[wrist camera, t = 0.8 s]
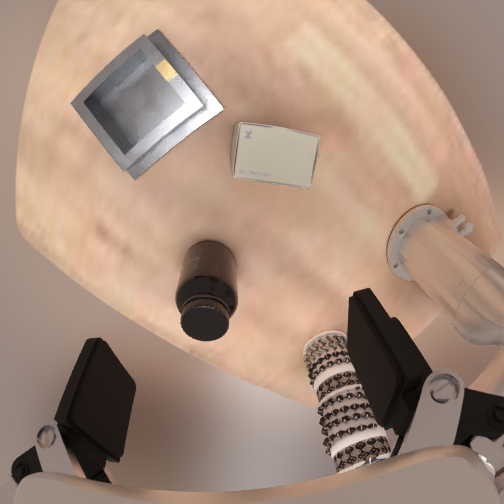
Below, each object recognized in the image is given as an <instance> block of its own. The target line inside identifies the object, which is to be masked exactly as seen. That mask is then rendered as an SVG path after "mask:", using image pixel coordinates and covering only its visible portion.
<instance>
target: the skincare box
mask: <svg viewBox="0 0 504 504" xmlns="http://www.w3.org/2000/svg"><path fill="white" fill-rule="evenodd" d="M320 142H321V137H320V136H319V135H316V134H312V133H308V132H303V131H299V130H294V129H289V128H284V127H278V126H272V125H266V124H258V123H250V122H235V125H234V131H233V137H232V144H231V152H230V162H231V171H232V176H233V178H238V179H244V180H250V181H256V182H263V183H271V184H278V185H286V186H293V187H300V188H310V186H311V183H312V178H313V174H314V170H315V166H316V161H317V157H318V152H319V147H320Z"/></svg>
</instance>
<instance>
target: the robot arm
mask: <svg viewBox="0 0 504 504" xmlns="http://www.w3.org/2000/svg"><path fill="white" fill-rule="evenodd" d="M465 220H466V217H465V215H464V214H463V213H460V214H459V215H458V216H457V217H456V218H455V219H454V220H452V219H451V220H449V218H448V216H447V215H446V213H445V212H444V211H443V210H441V209H440V208H438V207H436V206H433V205H420V206H417V207H415V208H413V209H411V210H410V211H409V212H407V213H406V214H405V215H404V216H403V217H402V218H401V219H400V220H399V222H398V223H397V224H396V226H395V228H394V230H393V231H392V234H391V236H390V239H389V243H388V247H387V259H388V263H389V266H390V268H391V270H392V271H393V272H394V273H395V274H396V276H398V277H399V278H400V279H403V280H406V281H415V282H416V283H417V284H418V285H419V286H420V287H421V288H422V289H423V291H424V292H425V293H426V294H427V295H428V296H429V297H430V299H431V300H432V301H433V302H434V303H435V304H436V306H437V307H438V308H439V309H440V310H441V312H442V313H443V314H444V315H445V316H446V318H447V319H448V320H449V321H450V322H451V324H452V325H453V326H454V327H455V329H456V330H457V331H458V333H459V334H460V335H461V336H462V337H463V338H464V339H465V340H466V341H467V342H469V343H471V344H474V345H481V346H482V345H483V346H486V345H496V346H497V347H498V351H497V353H496V355H495V356H494V358H493V359H492V360H491V362H490V363H489V365H488V366H487V367H486V368H485V369H484V371H483V372H482V373H481V374H480V375H479V376H478V378H477V379H476V380H475V381H474V382H473V383H472V384H471V385H470V386H469V388H464V384H463V381H462V379H461V378H460V377H459V375H457V374H456V373H455V372H453V371H450V370H438V371H435V372H432V370H431V368H430V367H429V365H428V363H427V362H426V360H425V359H424V357H423V356H422V354H421V352H420V351H419V349H418V348H417V346H416V345H415V343H414V342H413V340H412V339H411V337H410V336H409V334H408V333H407V331H406V330H405V328H404V327H403V325H402V324H401V322H400V321H399V320H398V319H397V318H395V317H392V318H390V316H389V315H388V313H387V312H386V311H385V309H384V308H383V306H382V305H381V303H380V302H379V300H378V299H377V298H376V296H375V295H374V293H373V292H372V291H371V289H370V288H366V289H362V290H359V291H355V292H354V293H353V296H352V297H349V311H348V333H347V352H348V355H349V358H350V360H351V362H352V365H353V367H354V369H355V371H356V374H357V376H358V378H359V381H360V383H361V386H362V388H363V390H364V393H365V395H366V398H367V400H368V402H369V405H370V407H371V410H372V412H373V415H374V417H375V420H376V422H377V424H378V425H383V427H384V430H388V429H390V428H393V430H394V432H395V434H396V435H398V436H397V438H396V441H395V443H394V445H393V448H392V450H391V452H390V455H389V457H388V459H385V460H382V461H379V462H375V463H372V464H369V465H366V466H363V467H360V468H357V469H353V470H350V471H347V472H343V473H339V474H335V475H331V476H327V477H323V478H319V479H315V480H311V481H306V482H301V483H295V484H290V485H284V486H277V487H270V488H262V489H253V490H242V491H227V492H175V491H160V490H150V489H141V488H134V487H127V486H121V485H118V484H117V482H116V481H115V479H114V478H113V476H112V474H111V473H110V471H109V469H108V467H107V465H106V460H108V461H110V462H118V463H119V461H120V457H121V456H122V455H123V453H124V447H125V441H126V435H127V430H128V425H129V419H130V414H131V410H132V404H133V400H134V396H135V391H136V384H135V382H134V380H133V379H132V378H131V376H130V375H129V374H128V372H127V371H126V369H125V368H124V367H123V365H122V364H121V363H120V361H119V360H118V358H117V357H116V356H115V354H114V353H113V351H112V350H111V348H110V347H109V345H108V344H107V342H105V341H103V339H101V338H90V339H87V340H86V342H85V344H84V346H83V349H82V351H81V353H80V355H79V357H78V360H77V362H76V364H75V366H74V369H73V371H72V374H71V376H70V378H69V381H68V383H67V386H66V389H65V391H64V393H63V396H62V399H61V401H60V404H59V407H58V410H57V413H56V415H55V418H54V419H55V420H56V421H57V422H58V424H57V425H55V424H54V423H52V422H46V423H43V424H42V425H41V426H39V428H38V429H37V431H36V433H35V438H34V442H35V446H33V447H32V448H31V449H29V450H28V451H26V452H25V453H24V454H22V455H21V456H19V457H18V458H17V459H16V460H15V461H14V463H13V465H12V470H11V473H12V476H11V475H9V477H8V478H7V479H6V481H5V482H4V483H3V485H2V486H1V487H0V504H504V268H503V267H502V266H501V265H500V264H499V263H497V262H496V261H495V260H494V259H492V258H491V257H490V256H489V255H487V254H486V253H485V252H483V251H482V250H481V249H480V248H478V247H477V246H476V245H474V244H473V243H472V242H470V241H469V240H468V239H466V238H465V236H468V235H469V234H470V233H471V232H472V231H473V230H474V226H473V224H472V223H471V222H470V221H469V220H467V221H466V222H465V223H464V224H462V223H463V222H464V221H465ZM461 224H462V225H461ZM459 225H461V226H460V228H459V229H457V227H458V226H459ZM489 471H490V472H491V473H493V474H494V475H495V478H494V481H493V479H492V477H491V475H490V473H489Z"/></svg>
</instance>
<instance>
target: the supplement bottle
mask: <svg viewBox="0 0 504 504" xmlns="http://www.w3.org/2000/svg"><path fill="white" fill-rule="evenodd" d="M175 301H176V306H177V308H178V310H179V312H180V314H181V322H180V323H181V327H182V328H183V331H184V332H185V333H186V334H187V335H188V336H190V337H192V338H193V339H196V340H200V341H212V340H216V339H219V338H221V337H222V336H223V335H225V333H226V332H227V330H228V328H229V319H230V318H231V317H232V316H233V314H234V313H235V311H236V309H237V305H238V291H237V276H236V264H235V259H234V256H233V255H232V253H231V252H230V250H229V249H227V248H226V247H225V246H223V245H221V244H219V243H216V242H202V243H199V244H197V245H195V246H193V247H192V248H191V249H190V250H189V251H188V253H187V254H186V256H185V259H184V262H183V266H182V270H181V274H180V278H179V282H178V286H177V290H176V296H175Z"/></svg>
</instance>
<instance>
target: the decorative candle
mask: <svg viewBox="0 0 504 504" xmlns="http://www.w3.org/2000/svg"><path fill="white" fill-rule="evenodd" d="M303 356H304V357H305V359H306V360H304V362H305V363H306V364H307V367H306V369H308V370H309V373H310V374H309V375H308V377H309V378H311V382H310V384H311V385H312V386H313V388H314V390H315V394H316V395H317V397H318V401H319V404H318V414H320V415H321V416H323V417H322V418H321V419H320V422H319V424H320V425H322V426H323V428H322V434H325V435H326V436H329V437H327V438H326V439H325V440H324V443H323V445H325V446H327V447H329V448H328V449H327V450H326V453H327V454H329V455H331V456H332V458H333V459H334V463H335V466H336V470H337V474H339V473H343V472H347V471H350V470H353V469H357V468H360V467H363V466H366V465H369V464H372V463H375V462H379V461H382V460H385V459H388V457H389V455H390V452H391V450H390V447H389V444H388V442H387V435H386V433H385V430H384V427H383V425H378V424H377V422H376V420H375V417H374V415H373V412H372V410H371V407H370V405H369V402H368V400H367V398H366V395H365V393H364V390H363V388H362V386H361V383H360V381H359V378H358V376H357V374H356V371H355V369H354V367H353V365H352V362H351V360H350V358H349V355H348V352H347V335H346V334H345V333H343V332H342V331H337V330H329V331H323V332H321V333H319V334H317V335H315V336H313V337H312V338H311V339H310V340H308V341H307V343H306V344H305V346H304V348H303ZM330 448H331V449H330Z"/></svg>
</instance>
